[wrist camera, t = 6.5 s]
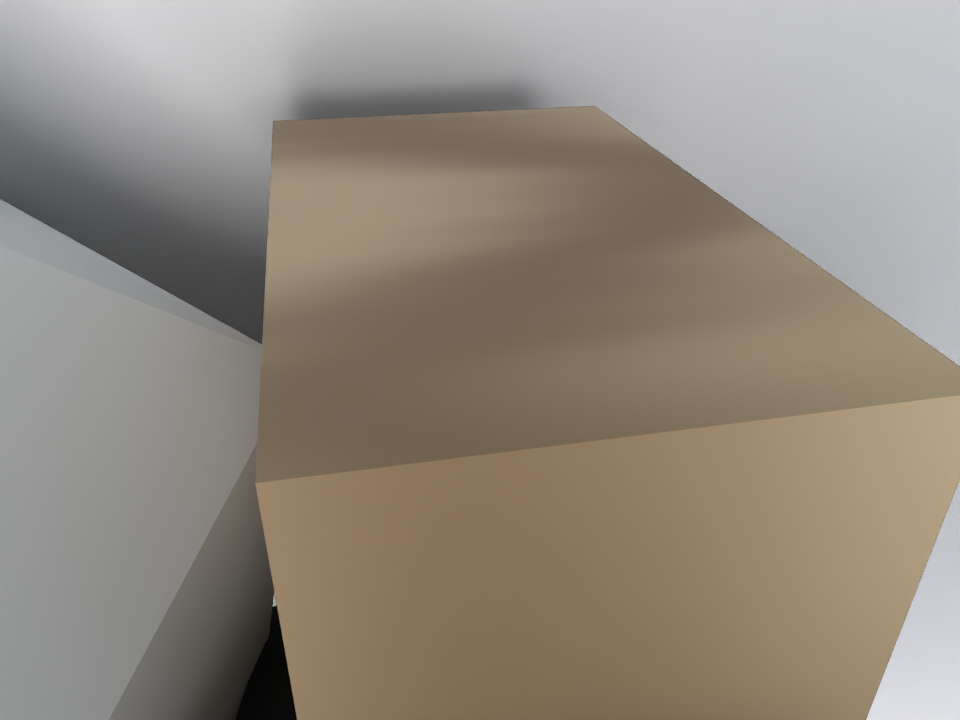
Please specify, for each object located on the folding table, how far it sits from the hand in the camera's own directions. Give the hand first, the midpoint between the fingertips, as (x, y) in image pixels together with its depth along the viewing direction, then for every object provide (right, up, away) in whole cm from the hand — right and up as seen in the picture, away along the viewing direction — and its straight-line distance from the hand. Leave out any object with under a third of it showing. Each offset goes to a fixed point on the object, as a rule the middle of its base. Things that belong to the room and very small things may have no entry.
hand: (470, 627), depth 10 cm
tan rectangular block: (0, +1, +1) cm, 2 cm away
